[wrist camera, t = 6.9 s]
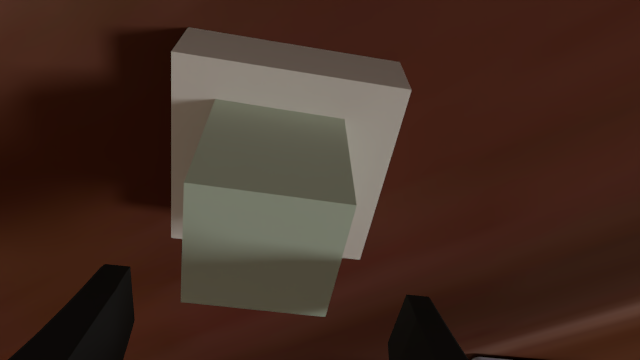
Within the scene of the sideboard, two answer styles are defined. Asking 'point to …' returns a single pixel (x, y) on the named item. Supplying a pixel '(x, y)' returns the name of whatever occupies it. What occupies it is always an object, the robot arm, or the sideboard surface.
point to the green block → (266, 210)
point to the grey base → (288, 105)
